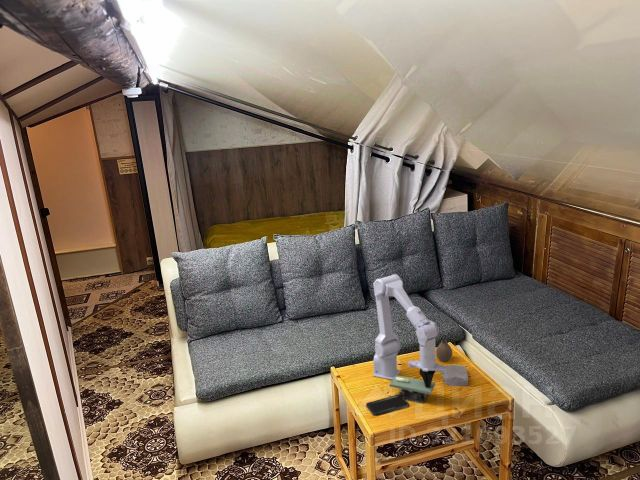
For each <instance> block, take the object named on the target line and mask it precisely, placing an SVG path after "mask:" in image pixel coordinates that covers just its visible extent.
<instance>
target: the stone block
mask: <svg viewBox="0 0 640 480" xmlns="http://www.w3.org/2000/svg"><path fill="white" fill-rule="evenodd" d="M445 366H446V367H448V372H447V374H444V373H443V372H442V375H441V376H442V380H443V382H444V383H445V385H447V386H452V387H456V386H457V387H458V386H459V387H460V386H461V387H463V386H464V387H468V386H469V375H468V371H467V366H466V365H461V364H449V365H445Z"/></svg>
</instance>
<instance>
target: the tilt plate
mask: <svg viewBox="0 0 640 480" xmlns="http://www.w3.org/2000/svg"><path fill="white" fill-rule="evenodd" d="M435 386H436V382H434V381H432V382H431V387H430V388H428V387H427V388H426V387H425V384H424V381H423V379H418V378H412V377H407V376H402V375H395V377H394V378H393V380H391V381H390V383H389V387H391V388H395V389H405V390H408V391H409V392H412V391H415V392H421V393H426V394H427V395H431V394H432V393H433V391H434V388H435Z"/></svg>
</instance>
